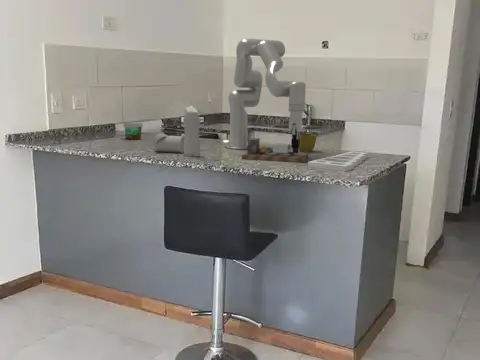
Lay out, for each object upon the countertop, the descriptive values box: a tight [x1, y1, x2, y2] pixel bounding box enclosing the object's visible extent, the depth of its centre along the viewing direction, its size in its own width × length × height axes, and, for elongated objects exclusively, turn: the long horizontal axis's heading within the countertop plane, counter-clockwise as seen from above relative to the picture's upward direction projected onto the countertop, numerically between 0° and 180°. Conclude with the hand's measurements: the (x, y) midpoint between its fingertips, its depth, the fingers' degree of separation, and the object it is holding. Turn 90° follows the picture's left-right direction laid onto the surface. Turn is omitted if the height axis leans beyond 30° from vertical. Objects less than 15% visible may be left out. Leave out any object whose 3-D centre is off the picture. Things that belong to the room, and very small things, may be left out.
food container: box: [122, 122, 143, 141], centre depth 326 cm, size 12×6×10 cm, turn 73°
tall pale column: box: [182, 110, 201, 158], centre depth 264 cm, size 11×4×22 cm, turn 54°
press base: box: [241, 137, 309, 163], centre depth 260 cm, size 30×14×9 cm, turn 75°
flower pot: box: [298, 133, 318, 153], centre depth 287 cm, size 9×9×9 cm
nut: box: [258, 144, 268, 154], centre depth 262 cm, size 4×4×4 cm
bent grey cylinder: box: [152, 132, 185, 154], centre depth 282 cm, size 18×10×20 cm
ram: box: [272, 132, 299, 154], centre depth 258 cm, size 12×8×10 cm, turn 75°
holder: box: [307, 151, 369, 172], centre depth 252 cm, size 45×18×3 cm, turn 143°
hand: (295, 146), depth 257 cm, fingers closed on ram, 3 cm apart
